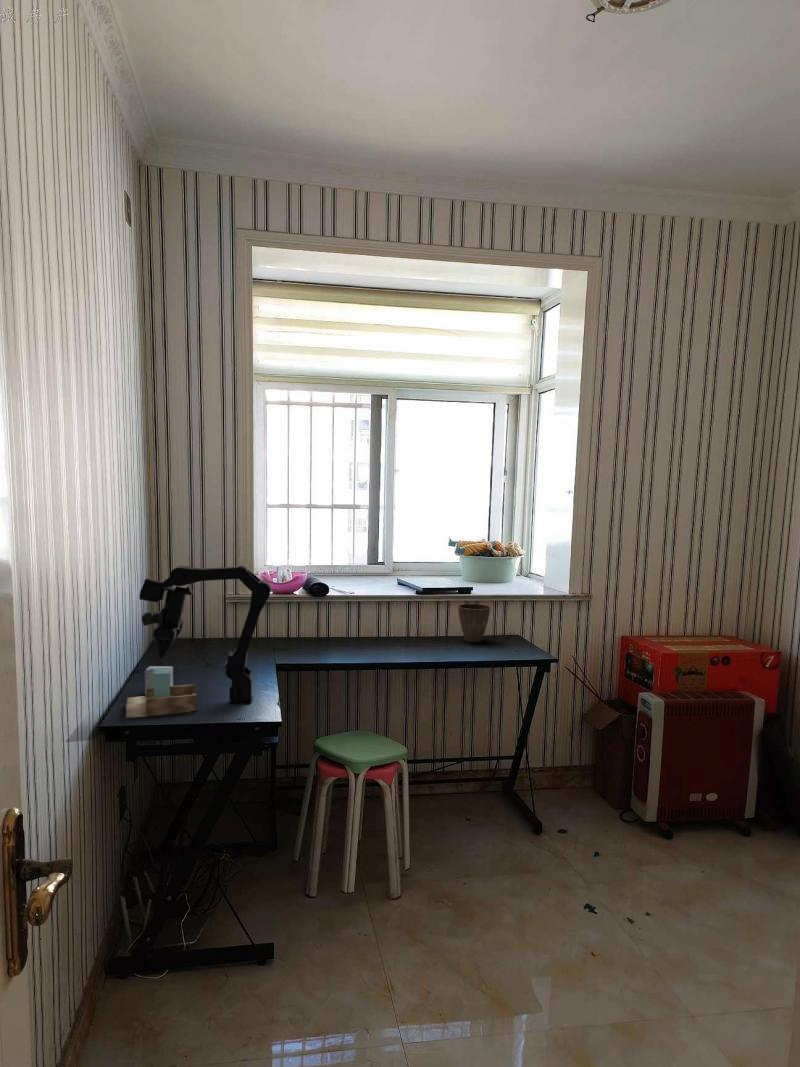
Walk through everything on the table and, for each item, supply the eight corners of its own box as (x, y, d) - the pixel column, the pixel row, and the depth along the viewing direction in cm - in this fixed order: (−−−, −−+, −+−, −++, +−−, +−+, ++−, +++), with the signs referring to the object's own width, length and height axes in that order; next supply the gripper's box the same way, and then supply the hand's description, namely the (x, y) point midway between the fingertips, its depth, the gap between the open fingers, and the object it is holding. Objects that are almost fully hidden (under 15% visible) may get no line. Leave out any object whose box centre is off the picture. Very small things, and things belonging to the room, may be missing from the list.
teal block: (169, 697, 204) (169, 669, 204) (170, 701, 200) (169, 672, 199) (154, 698, 202) (154, 670, 202) (154, 703, 198) (154, 674, 198)
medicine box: (173, 691, 218) (173, 666, 218) (169, 695, 214) (169, 669, 213) (149, 691, 218) (149, 665, 218) (144, 695, 214) (144, 669, 213)
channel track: (195, 699, 210) (195, 684, 210) (197, 711, 199) (197, 695, 199) (127, 705, 203) (127, 689, 203) (126, 718, 192) (125, 701, 192)
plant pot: (453, 637, 309) (454, 603, 308) (483, 636, 312) (484, 603, 311) (461, 644, 295) (462, 609, 294) (493, 644, 297) (494, 609, 296)
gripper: (153, 596, 212) (143, 643, 212) (140, 606, 194) (129, 657, 194) (188, 602, 214) (178, 649, 214) (179, 613, 196) (168, 664, 196)
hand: (163, 654), depth 205 cm, fingers open, 9 cm apart
